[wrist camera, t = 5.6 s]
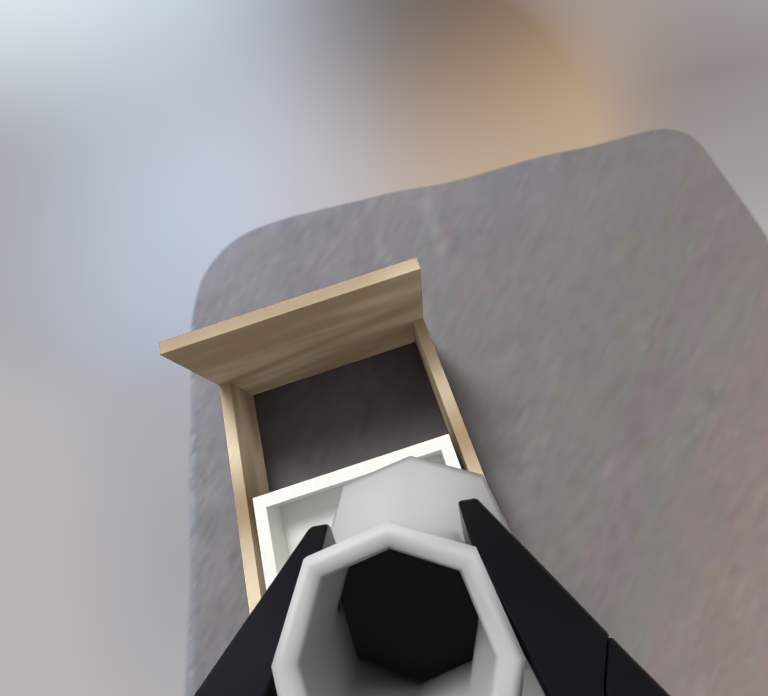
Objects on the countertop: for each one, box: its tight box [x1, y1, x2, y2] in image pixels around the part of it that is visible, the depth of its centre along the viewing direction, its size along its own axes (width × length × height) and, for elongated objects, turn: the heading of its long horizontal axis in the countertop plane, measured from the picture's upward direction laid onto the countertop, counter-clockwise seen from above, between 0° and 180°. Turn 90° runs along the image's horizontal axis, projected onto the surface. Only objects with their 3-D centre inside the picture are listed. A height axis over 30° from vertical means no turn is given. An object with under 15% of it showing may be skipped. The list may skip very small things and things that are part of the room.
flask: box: [271, 456, 526, 696], centre depth 9 cm, size 7×7×10 cm
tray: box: [253, 434, 461, 590], centre depth 16 cm, size 15×10×5 cm
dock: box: [159, 258, 486, 614], centre depth 18 cm, size 15×12×8 cm
